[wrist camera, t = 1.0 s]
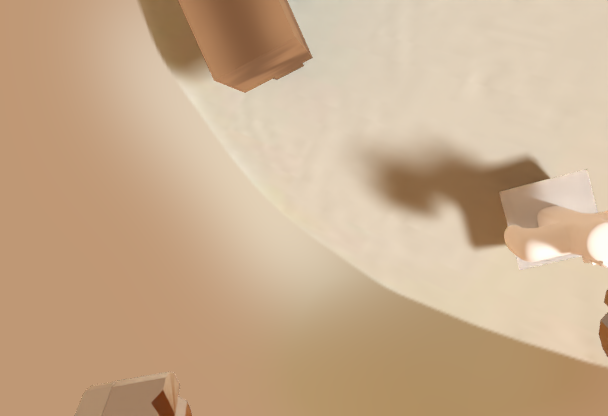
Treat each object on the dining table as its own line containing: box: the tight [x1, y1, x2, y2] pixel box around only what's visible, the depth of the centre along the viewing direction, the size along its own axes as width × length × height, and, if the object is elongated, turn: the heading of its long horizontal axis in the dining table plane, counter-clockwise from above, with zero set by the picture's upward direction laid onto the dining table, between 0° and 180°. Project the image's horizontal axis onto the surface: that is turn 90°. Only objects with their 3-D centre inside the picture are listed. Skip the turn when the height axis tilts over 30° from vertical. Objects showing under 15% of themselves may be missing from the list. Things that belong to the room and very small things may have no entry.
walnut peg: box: [178, 0, 313, 93], centre depth 39 cm, size 6×6×15 cm
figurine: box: [499, 169, 608, 270], centre depth 37 cm, size 7×9×15 cm
